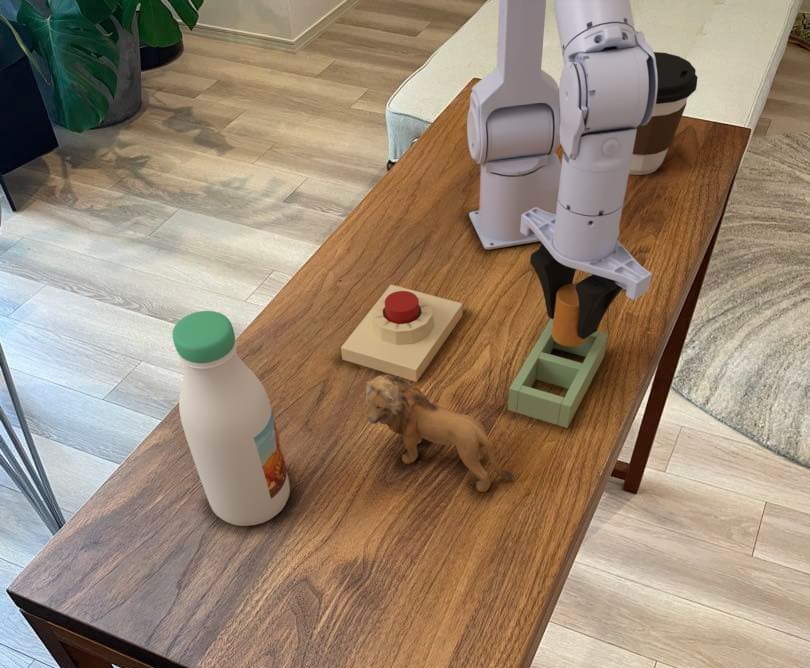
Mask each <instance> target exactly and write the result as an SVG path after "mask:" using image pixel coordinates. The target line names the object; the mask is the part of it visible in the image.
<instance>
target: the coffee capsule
mask: <svg viewBox="0 0 810 668" xmlns="http://www.w3.org/2000/svg"><path fill="white" fill-rule="evenodd" d="M576 284H577V283H572V284H567V285H564V286H562V287H561V288H559V290H558V291H557V295H556V303H555V311H554V319H553V327H552V337H553V339H554V341H555V342H557V343H558V344H560V345H563V346H568V347H573V346H578V345H581V344H582V343H584V342H585V341H586V339H587V338H585V339H582V338H580V337H579V336H578V330H577V329H578V320H579V299H578V294H577V291H576V289H575V286H576Z"/></svg>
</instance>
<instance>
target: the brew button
mask: <svg viewBox="0 0 810 668" xmlns="http://www.w3.org/2000/svg"><path fill="white" fill-rule="evenodd" d="M385 313H386V318H387V320H388V321H389V322H392V323H396V324H408V323H411V322H413V321H415V320H416V319H417V318H418V316H419V300H418V297H417V296H416V295H415V294H413V293H411V292H408V291H397V292H394V293H391V294H390V295H388V296H387V297H386V299H385Z"/></svg>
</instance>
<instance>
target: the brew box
mask: <svg viewBox="0 0 810 668" xmlns="http://www.w3.org/2000/svg"><path fill="white" fill-rule="evenodd" d="M397 291H408V292H411V293H413V294H415V295H416V296H417V297H418V300H419V316H418V318H417V319H416V320H415V321H413V322H411V323H408V324H396V323H392V322H389V321H388V320H387V318H386V313H385V299H386V297H387V296H388V295H390V294H391V293H394V292H397ZM463 306H464V305H463V303H462V302H459V301H455V300H451V299H447V298H444V297H441V296H437V295H432V294H429V293H426V292H420V291H418V290H413V289H410V288H406V287H402V286H398V285H394V284H390V285H388V288H386V290H385V291H384V292H383V294H381V296H380V297H379V299H378V300H377V301H376V302H375V304H374V305H373V306H372V307H371V308H370V310H369V311H368V312H367V314H366V315H365V316H364V318H363V319H362V320H361V321H360V322H359V324H358V325H357V326H356V328H355V329H354V330H353V332H352V333H351V334H350V335H349V336H348V338H347V339H346V340H345V341H344V343H343V344H342V345H341V347H340V351H341V352H340V353H341V359H342V360H343V361H346V362H349V363H353V364H356V365H359V366H362V367H365V368H369V369H373V370H375V371H379V372H383V373H386V374H388V375H391V376H394V377H399V378H401V379H402V378H403V379H406V380H407V381H408V380H409V381H412V382H415V383H417V382H418V381H419V379H420V378H421V377H422V375H423V374H424V372H425V371H426V369H427V368H428V366H429V365H430V363H431V362H432V360H433V359H434V358H435V356H436V355H437V353H438V352H439V350H440V349H441V347H442V346H443V344H444V343H445V342H446V340H447V339H448V337H449V336H450V334H451V333H452V332H453V330H454V328H455V327H456V326H457V324H458V323H459V321H460V320H461V319H462V318H463Z"/></svg>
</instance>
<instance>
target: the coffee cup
mask: <svg viewBox="0 0 810 668" xmlns="http://www.w3.org/2000/svg"><path fill="white" fill-rule="evenodd" d="M653 52H654V55H655V59H656V67H657V76H658V88H657V98H656V104H655V108H654V112H653V114H652V117H651V119H650V121H649V122H648V123H647V124H646V125H644V126H641V125H638V126H637V127H636V129H637V132H636V137H635V143H634V148H633V154H632V159H631V165H630V170H629V175H633V176H634V175H635V176H636V175H637V176H642V175H643V176H644V175H649V174H652V173H654V172H656V171H657V170H658V169H659V168H660V166H661V165H662V164H663V162H664V160H665V158H666V155H667V152H668V149H669V148H670V146H671V145H672V143H673V141H674V138H675V135H676V132H677V131H678V128H679V124H680V122H681V120H682V117H683V115H684V112H685V110H686V107H687V100H688V98H689V97H690V96H691V95H692V94H693V93H694V92H695V91H696V90H697V87H698V86H697V85H698V76H697V74H696V71H697V70H696V68H695V67H694V66H693V64H692V63H691V62H690V61H688V60H687V59H685V58H683V57H681V56H679V55H675V54H671V53H668V52H661V51H659V52H658V51H653Z"/></svg>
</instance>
